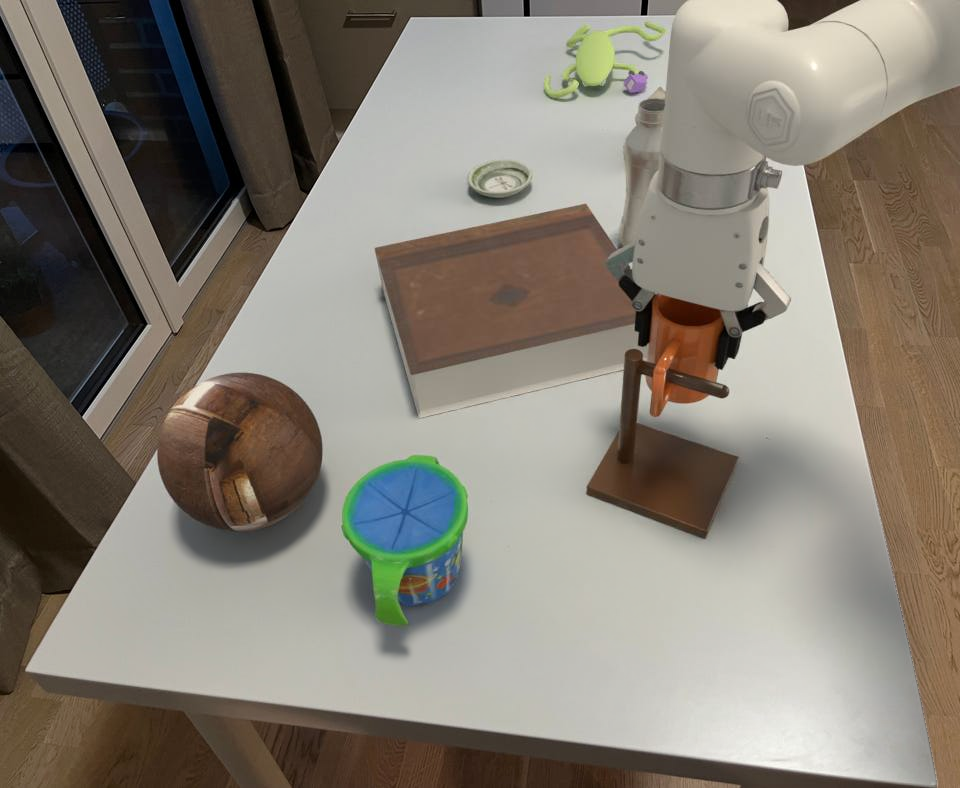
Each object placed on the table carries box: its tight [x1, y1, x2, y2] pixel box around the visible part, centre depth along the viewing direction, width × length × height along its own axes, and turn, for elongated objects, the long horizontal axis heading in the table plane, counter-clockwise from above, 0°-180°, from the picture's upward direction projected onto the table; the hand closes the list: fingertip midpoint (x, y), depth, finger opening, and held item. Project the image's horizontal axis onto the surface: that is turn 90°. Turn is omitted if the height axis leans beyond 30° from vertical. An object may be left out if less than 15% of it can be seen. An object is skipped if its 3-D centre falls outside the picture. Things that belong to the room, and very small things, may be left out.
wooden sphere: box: [156, 372, 324, 532], centre depth 76 cm, size 15×15×15 cm
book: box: [374, 203, 648, 419], centre depth 95 cm, size 24×28×6 cm
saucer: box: [467, 158, 533, 199], centre depth 119 cm, size 10×10×2 cm
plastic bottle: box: [618, 98, 665, 247], centre depth 99 cm, size 6×7×20 cm
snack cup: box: [341, 454, 469, 627], centre depth 70 cm, size 16×10×10 cm
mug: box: [645, 293, 725, 418], centre depth 71 cm, size 11×6×9 cm, turn 150°
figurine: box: [543, 20, 667, 99], centre depth 144 cm, size 18×27×6 cm
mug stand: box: [586, 349, 740, 539], centre depth 73 cm, size 12×10×15 cm
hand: (684, 347), depth 73 cm, fingers closed on mug, 6 cm apart
